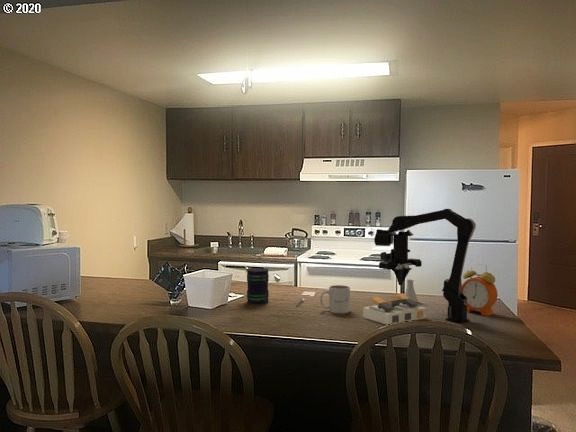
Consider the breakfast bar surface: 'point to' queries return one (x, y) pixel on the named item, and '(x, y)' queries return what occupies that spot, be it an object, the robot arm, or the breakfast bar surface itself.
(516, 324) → the breakfast bar surface
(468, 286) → the alarm clock
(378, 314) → the switch box
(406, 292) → the flask
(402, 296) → the rocker
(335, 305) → the mug
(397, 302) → the block
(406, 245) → the robot arm
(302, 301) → the spatula
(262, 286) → the storage jar
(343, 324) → the breakfast bar surface
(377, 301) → the block
